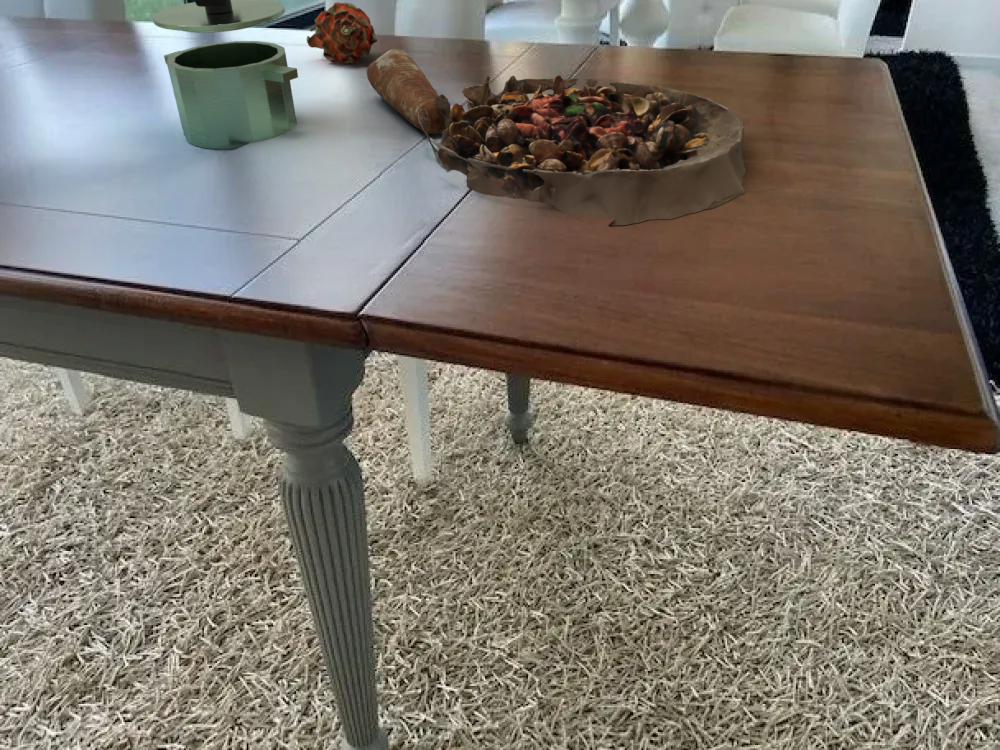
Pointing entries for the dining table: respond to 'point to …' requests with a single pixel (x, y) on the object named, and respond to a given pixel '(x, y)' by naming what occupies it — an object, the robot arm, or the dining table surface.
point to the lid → (218, 16)
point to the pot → (232, 93)
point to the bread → (405, 88)
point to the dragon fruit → (343, 33)
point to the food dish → (594, 148)
